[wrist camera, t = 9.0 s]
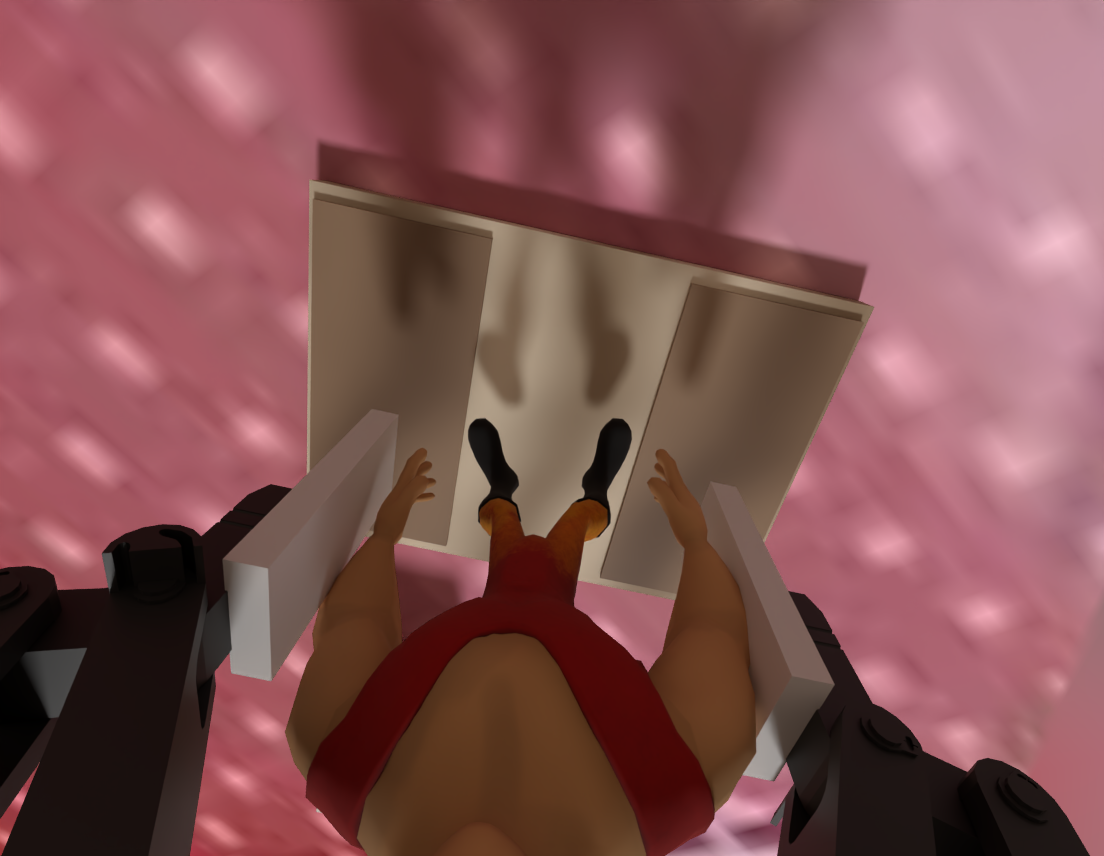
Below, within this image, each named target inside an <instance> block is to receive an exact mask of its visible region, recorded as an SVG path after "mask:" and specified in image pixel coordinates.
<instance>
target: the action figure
mask: <svg viewBox="0 0 1104 856" xmlns="http://www.w3.org/2000/svg"><path fill="white" fill-rule="evenodd" d="M468 441H469V444H470V447H471V449H472V451H473V454H474V457H475V459H476V461H477V463H478V464H479V466H480V468H481V469H482V471H483V473H484V474H485V476H486V478H487V480H488V482H489V484H490V486H491V488H490V493H489V494H488V495H487V496H486V497H485V498H484V499H483V500H482V502H481V504H480V505H479V507H478V522H479V523H480V525H481V526H482V528H483V529H484V530H485V531H486V532H487V533H488V535H489V536H491V539H490V554H489V572H488V579H487V583H486V588H485V591H484V594H483V597H482V598H481V597H478V598H475V599H472V600H469V601H466V602H463V603H461V604H459V605H457V606H455V607H453V608H451V609H449V610H447V611H445V612H444V613H442V614H440V615H438V616H436V617H435V618H433V619H431V620H429V621H428V622H427V623H425V624H424V625H422V626H421V627H420V628H418V629H417V630H415V631H414V632H413V633H411V634H410V635H409V636H408V637H407V639H406V640H405V641H404V642H402V623H401V613H400V603H399V594H398V586H397V578H396V571H395V559H394V545H395V544H397V543H398V542H399V540H400V539H401V538H402V534H403V531H404V527H405V525H406V522H407V519H408V516H409V513H410V510H411V508H412V506H413V504H414V503H416V502H425V501H429V500H432V499H433V498H434V497H435V495H434V494H433V493H423V492H424V491H425V490H426V488H430V487H432V486H434V485H435V484H436V480H435V479H433V478H427V477H426V476H423V475H425V474H427V473H428V472H429V470H430V469H431V468H432V463H431V462H429V461H425V459H426V457H427V450H426V449H424V448H420V449H418V450H417V451H416V452H415V453H414V454H413V455H412V456H411V457H410V458H409V459H407V462H406V464H405V467H404V469H403V471H402V472H401V474H400V476H399V479H398V481H397V484H396V485H395V487H394V488H393V490H392V491H391V492H390V493H389V495H388V496H387V498H386V499H385V500H384V502H383V503H382V505H381V507H380V509H379V511H378V513H377V517H376V521H375V524H374V532H373V534H372V535H371V536H370V537H369V539H368V540H367V541H366V542H365V543H364V545H363V546H362V547H361V548H360V549H359V550H358V552H357V553H356V554H355V555H354V556H353V557H352V558H351V559H350V561H349V562H348V563H347V565H346V566H345V567H344V568H343V570H342V571H341V572H340V574H339V575H338V576H337V578H336V580H335V581H334V583H333V585H332V587H331V589H330V591H329V593H328V594H327V596H326V598H325V599H324V601H323V602H322V604H321V605H320V607H319V610H318V614H317V618H316V622H315V625H314V629H313V633H312V635H313V646H314V652H313V654H312V656H311V657H310V659H309V661H308V662H307V665H306V667H305V670H304V673H303V676H302V679H301V682H300V685H299V688H298V691H297V695H296V698H295V701H294V704H293V708H292V711H291V714H290V717H289V721H288V724H287V727H286V730H285V734H286V737H287V741H288V744H289V747H290V750H291V754H292V757H293V760H294V763H295V765H296V766H297V768H298V769H299V770H300V772H301V773H302V775H303V776H304V778H305V779H306V781H307V785H306V798H307V799H308V800H309V801H310V802H311V803H312V804H313V805H314V806H315V807H316V808H317V809H318V810H319V811H320V812H322V813H323V814H324V816H325V817H326V818H327V819H328V821H329V822H330V823H331V824H332V825H333V827H334V828H335V829H336V830H337V831H338V833H339V834H340V835H341V836H342V837H343V838H344V839H345V840H346V841H348V842H349V843H350V844H351V845H353V846H355V847H357V848H359V849H361V850H363V851H365V852H366V853H367V855H368V856H665V855H667V854H668V853H670V852H671V851H673V850H675V849H676V848H678V847H679V846H681V845H682V844H684V843H685V842H687V841H688V840H690V839H692V838H694V837H696V836H699V835H701V834H703V833H705V832H706V830H707V829H708V827H709V826H710V824H711V823H712V821H713V820H714V815H715V812H716V811H717V810H718V809H720V808H721V807H722V806H723V805H724V804H725V803H726V802H727V801H728V799H729V797H730V796H731V794H732V792H733V790H734V788H735V786H736V784H737V782H738V781H739V779H740V778H741V776H742V775H743V773H744V772H745V770H746V768H747V767H748V765H749V764H750V762H751V761H752V759H753V758H754V756H755V754H756V712H755V693H754V690H753V686H752V683H751V679H750V675H749V672H748V670H749V666H750V653H749V641H748V628H747V619H746V611H745V607H744V604H743V600H742V596H741V592H740V588H739V585H738V584H737V582H736V581H735V579H734V577H733V576H732V574H731V572H730V571H729V569H728V567H727V566H726V564H725V563H724V562H723V560H722V559H721V557H720V556H719V555H718V553H717V552H716V551H715V549H714V548H713V547H712V546H711V545H710V544H709V542H708V541H707V533H708V530H707V526H706V522H705V518H704V515H703V512H702V509H701V507H700V505H699V503H698V502H697V500H696V499H695V497H694V496H693V495H692V494H691V493H690V491H689V490H688V488H687V487H686V485H685V484H684V482H683V479H682V477H681V475H680V473H679V470H678V468H677V465H676V461H675V460H674V459H673V458H672V457H671V456H670V455H669V454H668V453H667V451H665V450H664V449H659V450H657V451H656V454H655V456H656V459H657V461H658V463H656V464H655V466H654V469H655V471H656V472H657V473H658V474H659V475H660V476H661V477H663V478H664V479H665V480H666V481H663V480H661V478H658V477H651V478H650V479H649V480H648V482H647V484H648V487H649V489H650V491H651V493H652V494H653V495H654V496H655V497H654V499H655V501H656V502H658V503H660V505H661V507H662V509H663V510H664V512H665V513H666V515H667V517H668V520H669V523H670V526H671V528H672V531H673V533H674V536H675V538H676V540H677V542H678V543H679V544H680V545H681V546H682V547H683V548H685V550H684V559H683V566H682V573H681V577H680V582H679V587H678V591H677V595H676V599H675V603H674V607H673V611H672V615H671V619H670V622H669V626H668V630H667V634H666V638H665V643H664V647H663V652H662V654H661V655H660V656H659V658H658V659H657V660H656V661H655V663H654V664H653V666H652V667H651V669H650V670H649V672H647V670H646V669H645V667H644V665H643V664H642V662H641V661H639V660H635V659H634V658H633V657H632V656H631V654H630V653H629V652H628V651H627V650H626V649H625V648H624V647H623V646H622V645H620V644H619V643H618V642H617V641H616V640H614V639H613V638H612V637H611V636H609V635H608V634H607V633H606V632H604V631H603V630H602V629H601V628H599V627H598V626H597V625H596V624H595V623H594V622H593V621H592V620H591V619H590V617H589V616H588V615H586V614H584V613H583V612H581V611H580V610H578V609H576V608H575V607H574V597H575V593H576V586H577V580H578V576H579V571H580V566H581V560H582V553H583V547H584V542H586V541H589V540H592V539H594V538H598V537H600V535H601V534H602V533H603V532H604V531H605V529H606V528H607V527H608V526H609V525H610V523H611V511H610V506H609V501H608V498H607V491H608V489H609V487H610V485H611V483H612V481H613V479H614V478H615V476H616V474H617V473H618V471H619V470H620V468H621V466H622V464H623V462H624V460H625V458H626V456H627V454H628V451H629V449H630V445H631V441H632V431H631V429H630V427H629V425H628V423H627V422H626V421H624V420H623V419H619V418H612V419H611V420H610V421H609V422H608V423H606V424H605V426H604V427H603V428H602V430H601V431H600V434H599V438H598V442H597V448H596V453H595V457H594V460H593V463H592V465H591V467H590V468H589V469H588V470H587V471H586V473H585V474H584V476H583V478H582V488H583V489H584V493H585V494H584V497H583V498H581V499H578V500H576V501H575V502H574V503H572V504H571V506H570V507H569V508H568V510H567V511H566V512H565V513H564V514H563V515H562V516H561V518H560V519H559V520H558V521H557V523H556V524H555V525H554V526H553V528H552V529H551V530H550V532H549V533H548V535H547V537H546V538H544V537H542V536H538V535H535V534H532V535H528V536H525V534H524V532H523V529H522V526H521V523H520V522H521V517H520V513H519V509H518V505H517V504H516V503H515V502H514V501H512V494H513V493H514V492H515V490H516V489H517V488H518V486H519V480H518V476H517V474H516V473H515V472H514V470H512V469H511V468H510V467H509V465H508V464H507V462H506V460H505V457H504V454H503V451H502V445H501V440H500V437H499V433H498V430H497V429H496V428H495V427H494V425H493V424H492V423H491V422H489V421H488V420H487V419H486V418H479V419H475V420H474V421H473V422H472V423H471V424H470V426H469V429H468Z"/></svg>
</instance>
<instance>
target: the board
mask: <svg viewBox="0 0 1104 856" xmlns="http://www.w3.org/2000/svg"><path fill="white" fill-rule="evenodd" d="M873 309H874V307H873V306H870V305H868V304H865V303H863V302H860V301H857V300H853V299H848V298H844V297H839V296H835V295H830V294H826V293H821V292H817V291H813V290H808V289H804V288H799V287H795V286H790V285H786V284H782V283H777V282H773V281H768V280H764V279H759V278H755V277H751V276H746V275H742V274H737V273H733V272H728V271H724V270H719V269H715V268H711V267H706V266H702V265H697V264H693V263H688V262H684V261H680V260H675V259H671V258H666V257H662V256H657V255H653V254H649V253H644V252H640V251H635V250H631V249H626V248H622V247H618V246H613V245H609V244H604V243H600V242H595V241H591V240H586V239H582V238H578V237H573V236H569V235H564V234H560V233H555V232H551V231H547V230H542V229H538V228H533V227H529V226H524V225H520V224H516V223H511V222H507V221H502V220H498V219H493V218H489V217H484V216H480V215H476V214H471V213H467V212H462V211H458V210H453V209H449V208H445V207H440V206H436V205H431V204H427V203H422V202H418V201H414V200H409V199H405V198H400V197H396V196H391V195H387V194H383V193H378V192H374V191H369V190H365V189H360V188H356V187H351V186H347V185H343V184H338V183H334V182H329V181H325V180H309V294H308V407H307V474H308V473H309V472H310V471H311V470H312V469H313V468H314V467H315V466H316V465H317V464H318V463H319V462H320V461H321V460H322V459H323V458H324V457H325V456H326V455H327V454H328V453H329V452H330V451H331V450H332V449H333V448H334V447H335V446H336V445H337V444H338V443H339V442H340V441H341V440H342V439H343V438H344V437H345V435H346V434H347V433H348V432H349V431H350V430H351V429H352V428H353V427H354V426H355V425H356V424H357V423H358V422H359V421H360V420H361V419H362V418H363V417H364V416H365V415H366V414H367V413H368V412H369V411H370V410H371V409H375V410H379V411H384V412H389V413H393V414H398V415H399V416H398V427H397V438H396V449H395V460H394V472H393V483H392V490H393V488H394V487H395V485H396V484H397V481H398V479H399V476H400V474H401V472H402V471H403V469H404V467H405V464H406V462H407V459H409V458H410V457H411V456H412V455H413V454H414V453H415V452H416V451H417V450H418V449H420V448H424V449H426V450H427V457H426V459H425V461H429V462H431V463H432V468H431V469H430V470H429V472H428V473H427V474H425V475H423V476H426V477H427V478H433V479H435V480H436V484H435V485H434V486H432V487H430V488H426V490H425V491H424V492H423V493H433V494H434V495H435V497H434V498H433V499H432V500H429V501H425V502H416V503H414V504H413V506H412V508H411V510H410V513H409V516H408V519H407V522H406V525H405V527H404V531H403V534H402V538H401V539H400V540H399V542H398V543H400V544H405V545H410V546H415V547H419V548H424V549H429V550H434V551H439V552H444V553H449V554H453V555H458V556H463V557H468V558H473V559H478V560H482V561H487V562H489V554H490V539H491V536H489V535H488V533H487V532H486V531H485V530H484V529H483V528H482V526H481V525H480V523H479V522H478V507H479V505H480V504H481V502H482V500H483V499H484V498H485V497H486V496H487V495H488V494H489V493H490V488H491V486H490V484H489V482H488V480H487V478H486V476H485V474H484V473H483V471H482V469H481V468H480V466H479V464H478V463H477V461H476V459H475V457H474V454H473V451H472V449H471V447H470V444H469V441H468V429H469V426H470V424H471V423H472V422H473V421H474V420H475V419H479V418H486V419H487V420H488V421H489V422H491V423H492V424H493V425H494V427H495V428H496V429H497V430H498V433H499V437H500V440H501V445H502V451H503V454H504V457H505V460H506V462H507V464H508V465H509V467H510V468H511V469H512V470H514V472H515V473H516V474H517V476H518V480H519V486H518V488H517V489H516V490H515V492H514V493H513V494H512V501H514V502H515V503H516V504H517V505H518V509H519V513H520V517H521V522H520V523H521V526H522V529H523V532H524V534H525V536H528V535H532V534H535V535H538V536H542V537H544V538H546V537H547V535H548V533H549V532H550V530H551V529H552V528H553V526H554V525H555V524H556V523H557V521H558V520H559V519H560V518H561V516H562V515H563V514H564V513H565V512H566V511H567V510H568V508H569V507H570V506H571V504H572V503H574V502H575V501H576V500H578V499H581V498H583V497H584V494H585V493H584V489H583V488H582V478H583V476H584V474H585V473H586V471H587V470H588V469H589V468H590V467H591V465H592V463H593V460H594V457H595V453H596V448H597V442H598V438H599V434H600V431H601V430H602V428H603V427H604V426H605V424H606V423H608V422H609V421H610V420H611V419H612V418H619V419H623V420H624V421H626V422H627V423H628V425H629V427H630V429H631V431H632V441H631V445H630V449H629V451H628V454H627V456H626V458H625V460H624V462H623V464H622V466H621V468H620V470H619V471H618V473H617V474H616V476H615V478H614V479H613V481H612V483H611V485H610V487H609V489H608V491H607V498H608V501H609V506H610V511H611V523H610V525H609V526H608V527H607V528H606V529H605V531H604V532H603V533H602V534H601V535H600V537H598V538H594V539H592V540H589V541H586V542H584V547H583V553H582V560H581V566H580V571H579V576H578V580H579V581H584V582H589V583H594V584H599V585H604V586H609V587H613V588H618V589H623V590H628V591H633V592H638V593H643V594H647V595H652V596H657V597H662V598H667V599H672V600H675V599H676V595H677V591H678V587H679V582H680V577H681V573H682V566H683V562H682V558H681V556H682V553H683V551H684V548H683V547H682V546H681V545H680V544H679V543H678V542H677V540H676V538H675V536H674V533H673V531H672V528H671V526H670V523H669V520H668V517H667V515H666V513H665V512H664V510H663V509H662V507H661V505H660V503H658V502H656V501H655V499H654V497H655V496H654V495H653V494H652V493H651V491H650V489H649V487H648V484H647V482H648V480H649V479H650V478H651V477H658V478H661V480H663V481H666V480H665V479H664V478H663V477H661V476H660V475H659V474H658V473H657V472H656V471H655V469H654V466H655V464H656V463H658V461H657V459H656V456H655V454H656V451H657V450H659V449H664V450H665V451H667V453H668V454H669V455H670V456H671V457H672V458H673V459H674V460H675V461H676V465H677V468H678V470H679V473H680V475H681V477H682V479H683V482H684V484H685V485H686V487H687V488H688V490H689V491H690V493H691V494H692V495H693V496H694V497H695V499H696V500H697V502H698V503H699V505H700V507H701V504H702V502H703V499H704V497H705V494H706V492H707V489H708V487H709V484H710V481H711V482H715V483H720V484H725V485H729V486H734V487H736V488H737V490H738V492H739V494H740V496H741V498H742V500H743V502H744V504H745V506H746V508H747V510H748V512H749V514H750V516H751V518H752V520H753V522H754V524H755V526H756V528H757V530H758V532H759V534H760V536H761V538H762V540H763V542H765V540H766V538H767V536H768V534H769V532H770V529H771V527H772V525H773V523H774V521H775V519H776V517H777V514H778V512H779V510H780V508H781V506H782V504H783V502H784V499H785V497H786V495H787V493H788V491H789V489H790V487H791V484H792V482H793V480H794V478H795V476H796V474H797V472H798V469H799V467H800V465H801V463H802V461H803V459H804V457H805V454H806V452H807V450H808V448H809V446H810V444H811V442H812V439H813V437H814V435H815V433H816V431H817V429H818V427H819V424H820V422H821V420H822V418H823V416H824V414H825V412H826V409H827V407H828V405H829V403H830V401H831V399H832V397H833V395H834V392H835V390H836V388H837V386H838V384H839V382H840V380H841V377H842V375H843V373H844V371H845V369H846V367H847V365H848V362H849V360H850V358H851V356H852V354H853V352H854V350H855V347H856V345H857V343H858V341H859V339H860V337H861V335H862V332H863V330H864V328H865V326H866V324H867V322H868V320H869V317H870V315H871V313H872V311H873ZM375 521H376V520H375ZM374 524H375V522H374V523H373V525H372V526H371V528H370V529H369V531H368V533H367V534H366V537H370V536H371V535H372V534H373V532H374Z"/></svg>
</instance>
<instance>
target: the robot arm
mask: <svg viewBox="0 0 1104 856" xmlns="http://www.w3.org/2000/svg"><path fill="white" fill-rule="evenodd" d="M398 416H399V415H398V414H393V413H389V412H384V411H379V410H375V409H371V410H370V411H369V412H368V413H367V414H366V415H365V416H364V417H363V418H362V419H361V420H360V421H359V422H358V423H357V424H356V425H355V426H354V427H353V428H352V429H351V430H350V431H349V432H348V433H347V434H346V435H345V437H344V438H343V439H342V440H341V441H340V442H339V443H338V444H337V445H336V446H335V447H334V448H333V449H332V450H331V451H330V452H329V453H328V454H327V455H326V456H325V457H324V458H323V459H322V460H321V461H320V462H319V463H318V464H317V465H316V466H315V467H314V468H313V469H312V470H311V471H310V472H309V473H308V474H307V475H306V476H305V477H304V478H303V479H302V480H301V481H300V482H299V483H298V484H297V485H296V486H295V487H294V488H293V489H291V488H286V487H282V486H277V485H272V484H270V485H268V486H266V487H264V488H261V489H259V490H257V491H255V492H253V493H250V494H248V495H247V496H246V497H245V498H244V499H243V500H242V501H241V502H239V503H238V504H237V505H236V506H235V507H234V508H233V511H229V512H228V513H227V514H226V515H225V516H224V517H223V518H222V519H221V521H220V522H217V523H216V524H215V525H214V526H213V527H211V528H210V529H209V530H208V531H207V532H206V533H205V534H204V535H202V536H200V535H199V534H198V533H197V532H196V531H195V530H193V529H191V528H188V527H184V526H181V525H164V524H162V525H156V526H149V527H143V528H140V529H138V530H135V531H132V532H129V533H126V534H124V535H123V536H121V537H119V538H118V539H116V540H114V541H113V542H111V543H110V544H109V545H108V547H107V548H106V549H105V550H104V551H103V553H102V557H103V562H104V567H105V572H106V577H107V582H108V587H109V588H100V589H73V590H58V589H57V586H56V582H55V578H54V575H52V574H51V573H50V572H48V571H47V570H45V569H42V568H36V567H31V566H22V567H7V568H3V569H0V818H1V817H2V816H3V814H4V813H5V811H6V810H7V808H8V807H9V806H10V804H11V803H12V801H13V800H14V798H15V797H16V795H17V794H18V793H19V791H20V790H21V788H22V787H23V785H24V784H25V783H26V781H27V780H28V778H29V777H30V775H31V774H32V773H33V771H34V770H35V768H36V767H37V765H38V764H39V766H38V768H37V771H36V773H35V775H34V778H33V780H32V783H31V785H30V788H29V790H28V792H27V795H26V797H25V800H24V802H23V805H22V807H21V809H20V812H19V814H18V817H17V819H16V822H15V824H14V826H13V829H12V831H11V834H10V836H9V838H8V841H7V843H6V846H5V848H4V851H3V853H2V855H1V856H190V851H191V844H192V838H193V831H194V825H195V818H196V812H197V805H198V799H199V792H200V786H201V779H202V773H203V766H204V760H205V753H206V747H207V741H208V734H209V728H210V721H211V715H212V708H213V702H214V695H215V689H216V683H215V671H216V669H217V668H218V667H219V665H220V664H221V663H222V662H223V660H224V659H225V658H226V656H227V655H228V654H229V653H230V663H231V673H233V674H238V675H243V676H248V677H253V678H258V679H263V680H268V681H272V680H273V678H274V676H275V675H276V673H277V672H278V670H279V669H280V667H281V666H282V664H283V663H284V661H285V659H286V658H287V656H288V655H289V653H290V652H291V650H292V649H293V647H294V646H295V644H296V642H297V641H298V639H299V638H300V636H301V635H302V633H303V632H304V630H305V628H306V627H307V625H308V624H309V622H310V621H311V619H312V618H313V616H314V615H315V613H316V611H317V610H318V608H319V607H320V605H321V604H322V602H323V601H324V599H325V598H326V596H327V594H328V593H329V591H330V589H331V587H332V585H333V583H334V581H335V580H336V578H337V576H338V575H339V574H340V572H341V571H342V570H343V568H344V567H345V566H346V565H347V563H348V562H349V560H350V559H351V557H352V556H353V554H354V553H355V551H356V550H357V548H358V547H359V545H360V543H361V542H362V540H363V539H364V537H365V536H366V534H367V533H368V531H369V529H370V528H371V526H372V525H373V523H374V522H375V520H376V517H377V513H378V511H379V509H380V507H381V505H382V503H383V502H384V500H385V499H386V498H387V496H388V495H389V493H390V492H391V491H392V483H393V472H394V460H395V449H396V438H397V427H398ZM701 509H702V512H703V515H704V518H705V522H706V526H707V530H708V533H707V541H708V542H709V544H710V545H711V546H712V547H713V548H714V549H715V551H716V552H717V553H718V555H719V556H720V557H721V559H722V560H723V562H724V563H725V564H726V566H727V567H728V569H729V571H730V572H731V574H732V576H733V577H734V579H735V581H736V582H737V584H738V585H739V588H740V592H741V596H742V600H743V604H744V607H745V611H746V619H747V628H748V641H749V653H750V666H749V670H748V672H749V675H750V679H751V683H752V686H753V690H754V693H755V712H756V754H755V756H754V758H753V759H752V761H751V762H750V764H749V765H748V767H747V768H746V770H745V772H744V773H743V775H745V776H750V777H755V778H760V779H765V780H770V781H775V779H776V778H777V776H778V774H779V773H780V771H781V770H782V768H783V766H784V765H785V763H786V762H787V764H788V767H789V770H790V773H791V776H792V779H793V782H794V784H793V786H792V787H791V789H790V790H789V792H788V794H787V795H786V797H785V798H784V800H783V801H782V803H781V804H780V806H779V807H778V809H777V810H776V812H775V813H774V816H773V818H772V820H771V822H770V823H771V824H773V825H775V826H777V824H778V823H779V821H780V820H781V818H782V817H783V821H782V827H781V834H780V841H779V848H778V854H777V856H1090V855H1089V853H1088V852H1087V850H1086V848H1085V847H1084V845H1083V843H1082V842H1081V840H1080V838H1079V837H1078V835H1077V833H1076V832H1075V830H1074V828H1073V826H1072V824H1071V823H1070V821H1069V819H1068V818H1067V816H1066V815H1065V813H1064V812H1063V811H1062V809H1061V808H1060V807H1059V805H1058V804H1057V803H1056V801H1055V800H1054V799H1053V798H1052V797H1051V796H1050V795H1049V794H1048V793H1047V792H1046V791H1045V790H1044V789H1043V788H1042V787H1041V786H1040V785H1039V784H1038V783H1036V782H1035V781H1034V780H1033V779H1031V778H1030V777H1028V776H1027V775H1026V774H1024V773H1023V772H1021V771H1020V770H1018V769H1016V768H1014V767H1012V766H1010V765H1008V764H1006V763H1004V762H1002V761H998V760H994V759H990V758H986V759H982V760H978V761H977V762H976V763H975V764H974V765H973V767H972V768H971V769H970V770H969V771H968V772H966V771H964V770H962V769H960V768H958V767H955V766H953V765H951V764H949V763H947V762H945V761H943V760H941V759H938V758H936V757H934V756H932V755H930V754H928V753H926V752H924V751H923V750H922V747H921V744H920V743H919V742H918V740H917V739H916V737H915V736H914V734H913V733H912V732H911V730H910V729H909V728H908V727H907V726H906V725H905V724H903V723H902V722H901V721H900V720H899V719H898V718H897V717H896V716H894V715H893V714H891V713H890V712H888V711H887V710H885V709H884V708H882V707H880V706H877V705H875V704H873V703H872V702H871V700H870V698H869V696H868V694H867V692H866V691H865V689H864V687H863V685H862V683H861V682H860V680H859V678H858V676H857V674H856V673H855V671H854V669H853V667H852V665H851V664H850V662H849V660H848V658H847V656H846V655H845V653H844V651H843V650H841V649H840V647H841V646H840V644H839V642H838V640H837V638H836V637H835V635H834V634H832V629H831V627H830V626H829V624H828V622H827V620H826V618H825V617H824V615H823V613H822V612H821V611H820V610H819V609H818V608H817V607H816V606H815V605H814V603H813V602H812V601H811V600H810V599H809V598H808V597H807V596H806V595H805V594H800V593H795V592H790V591H788V590H787V588H786V586H785V584H784V582H783V580H782V578H781V576H780V574H779V572H778V570H777V568H776V566H775V564H774V562H773V560H772V558H771V556H770V554H769V552H768V550H767V548H766V546H765V544H764V542H763V540H762V538H761V536H760V534H759V532H758V530H757V528H756V526H755V524H754V522H753V520H752V518H751V516H750V514H749V512H748V510H747V508H746V506H745V504H744V502H743V500H742V498H741V496H740V494H739V492H738V490H737V488H736V487H734V486H729V485H725V484H720V483H715V482H711V481H710V484H709V487H708V489H707V492H706V494H705V497H704V499H703V502H702V504H701ZM684 550H685V548H684ZM681 558H682V562H683V559H684V551H683V553H682V556H681ZM39 762H40V763H39Z"/></svg>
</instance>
